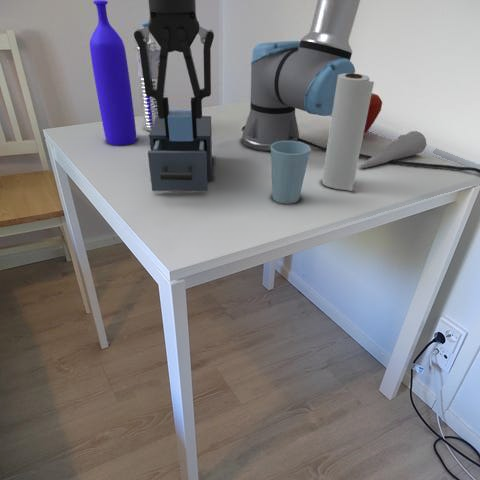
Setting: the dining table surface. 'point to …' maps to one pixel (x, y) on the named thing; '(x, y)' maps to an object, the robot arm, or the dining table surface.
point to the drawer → (178, 165)
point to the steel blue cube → (180, 125)
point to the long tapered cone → (398, 149)
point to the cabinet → (202, 134)
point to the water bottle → (149, 102)
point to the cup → (288, 170)
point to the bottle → (112, 81)
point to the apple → (373, 111)
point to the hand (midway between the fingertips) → (181, 135)
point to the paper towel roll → (346, 130)
